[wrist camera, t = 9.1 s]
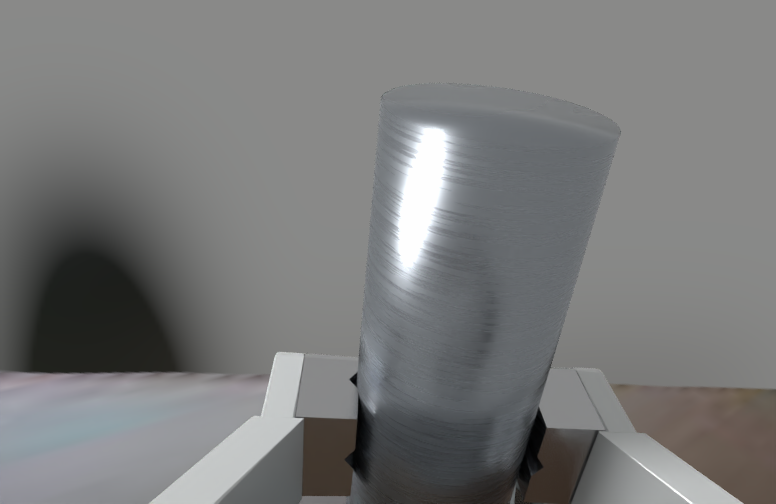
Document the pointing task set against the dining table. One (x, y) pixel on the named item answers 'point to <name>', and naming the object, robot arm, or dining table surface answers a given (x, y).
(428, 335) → the pin
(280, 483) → the robot arm
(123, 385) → the dining table surface
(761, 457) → the dining table surface
